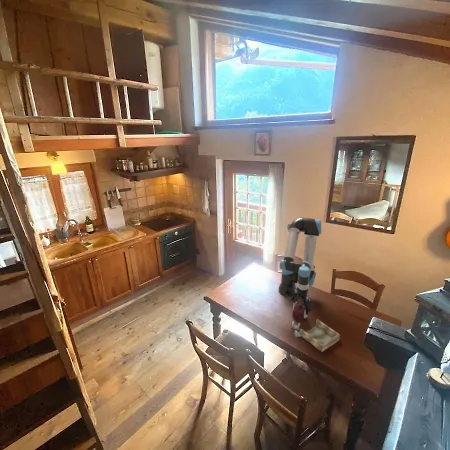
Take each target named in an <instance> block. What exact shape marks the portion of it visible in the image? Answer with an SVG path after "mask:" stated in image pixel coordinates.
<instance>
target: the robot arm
mask: <svg viewBox="0 0 450 450" xmlns="http://www.w3.org/2000/svg"><path fill="white" fill-rule="evenodd" d="M301 232H302V233H303V236H304V237H305V239H304V245H303V246H304V248H303V256H302V262H301V261H299V262H298V261H295V256H296V251H297V248H298V247H297V246H298V241H299V236H300V234H301ZM321 234H322V220H321V219H317V218H310V217H309V218H308V217H298V218H295V219H294V220H293V221H292V222H291V224H290V225H289V227H288V237H287V242H286V247H285V251H284V256H283V259H280V261H279V270H281V279H280V281H281V282H280V284H279V286H278V292H279V294H281V295H282V296H284V297H291V298H290V301H292V311H293V310H294V308H295V306H296V305H297V304H298V302H297V301H298V300H301V302H302V303H303V306H304V307H305V312H304V318H306V317H307V318H308V315H309V313H310V312H311V311H312V304H311V303H312V302H311V301H312V298H311V297H308V293H309V287H312V286H314V283H315V280H316V276H317V272H316V269H315V268H314V263H315V255H316V248H317V247H316V246H317V239H318V238H319V237H320V235H321ZM296 285H297V286H296Z"/></svg>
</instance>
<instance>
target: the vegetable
mask: <svg viewBox="0 0 450 450" xmlns="http://www.w3.org/2000/svg"><path fill="white" fill-rule="evenodd" d="M304 312H305V307H304V304H302V303H297V305H296V306H295V308H294V310H293V309H292V313H291V315H292V317H291V318H293V319H294V320H295V321H297V322H304V321H306V320H307V319H308V316H307V317H306V318H304Z"/></svg>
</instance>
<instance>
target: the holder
mask: <svg viewBox="0 0 450 450" xmlns="http://www.w3.org/2000/svg"><path fill="white" fill-rule="evenodd" d="M300 329H301V332H300V331H299V332H300V334H301V335H302V336H301V337H302V338H303V339H304V340H306V341H307V342H308V343H310V345H312V346H314V347H315V348H316V349H317V350H318V351H320V352H321V353H324V352H325V351H326V350H328V349H329V348H330V347H332V346H333V345H335V344H336V343H338V342H339V341H340V339H341V337H340V336H341V334H340V333H339V332H337V331H335V330H334V329H332V327H330V326H328V325H327V324H326V323H324V322H322V321H321V320H320V319H318V318H317V319H316V321H315V325H314V326H313V327H312V328H310V329H308V330H307V331H305V329H302V328H300Z"/></svg>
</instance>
